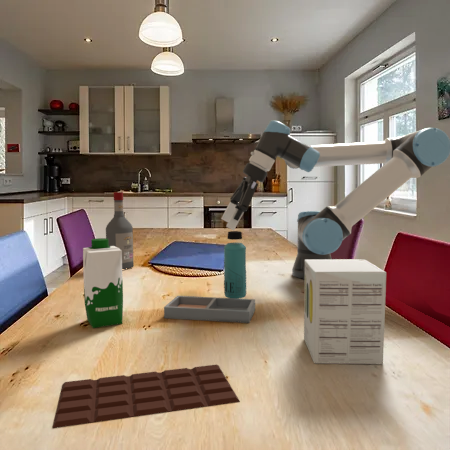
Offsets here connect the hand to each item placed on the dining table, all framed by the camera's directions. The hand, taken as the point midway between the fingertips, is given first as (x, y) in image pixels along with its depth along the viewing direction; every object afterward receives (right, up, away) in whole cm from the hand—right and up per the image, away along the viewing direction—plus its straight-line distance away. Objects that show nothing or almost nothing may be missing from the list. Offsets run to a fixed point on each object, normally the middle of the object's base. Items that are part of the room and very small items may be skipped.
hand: (227, 224), depth 142 cm
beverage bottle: (+2, -22, -19) cm, 29 cm away
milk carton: (-30, -24, -37) cm, 53 cm away
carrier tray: (-4, -23, -31) cm, 39 cm away
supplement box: (+22, -26, -56) cm, 65 cm away
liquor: (-42, -17, +29) cm, 54 cm away
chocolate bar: (-13, -28, -73) cm, 79 cm away
